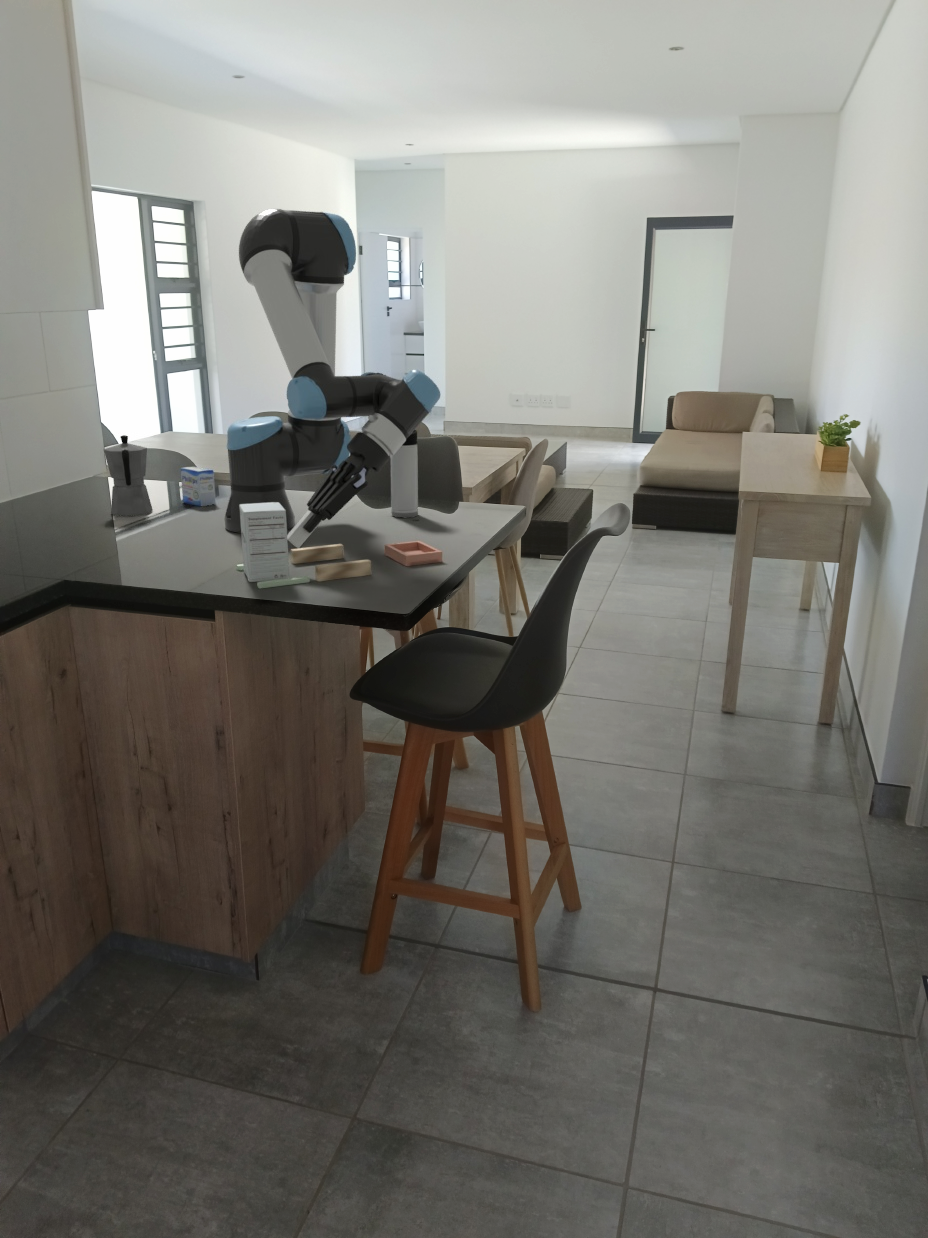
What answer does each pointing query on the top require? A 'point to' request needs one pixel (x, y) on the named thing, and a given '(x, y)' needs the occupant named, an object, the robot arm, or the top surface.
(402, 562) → the pit tray
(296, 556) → the channel
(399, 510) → the travel mug
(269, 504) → the supplement box
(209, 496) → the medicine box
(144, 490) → the coffeepot
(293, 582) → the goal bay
